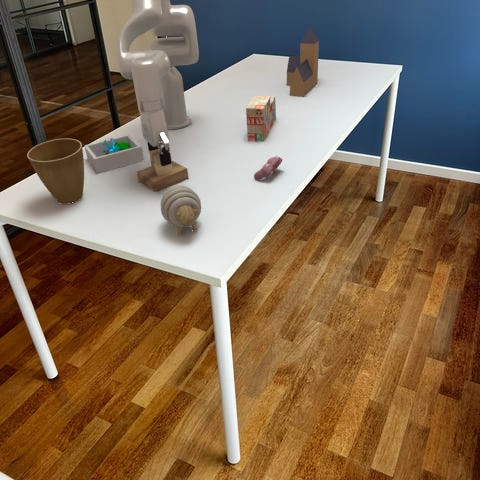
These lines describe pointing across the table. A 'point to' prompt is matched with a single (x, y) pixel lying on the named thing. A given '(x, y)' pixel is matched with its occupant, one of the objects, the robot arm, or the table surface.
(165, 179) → the base block
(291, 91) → the toy building blocks
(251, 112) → the stack of blocks
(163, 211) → the toy sheep
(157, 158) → the oak block
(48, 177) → the plant pot
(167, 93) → the robot arm
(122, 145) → the green blue spiky piece
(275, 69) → the table surface
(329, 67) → the table surface
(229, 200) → the table surface
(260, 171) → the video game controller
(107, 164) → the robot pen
